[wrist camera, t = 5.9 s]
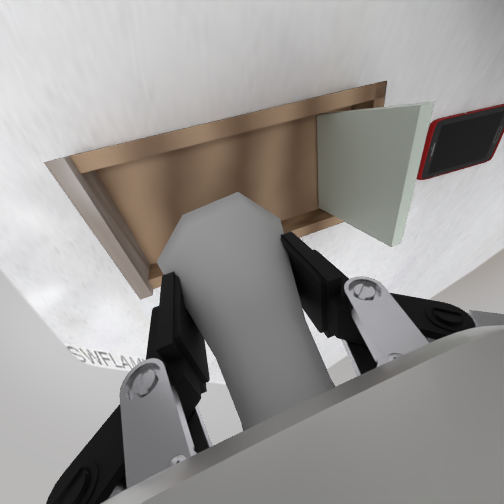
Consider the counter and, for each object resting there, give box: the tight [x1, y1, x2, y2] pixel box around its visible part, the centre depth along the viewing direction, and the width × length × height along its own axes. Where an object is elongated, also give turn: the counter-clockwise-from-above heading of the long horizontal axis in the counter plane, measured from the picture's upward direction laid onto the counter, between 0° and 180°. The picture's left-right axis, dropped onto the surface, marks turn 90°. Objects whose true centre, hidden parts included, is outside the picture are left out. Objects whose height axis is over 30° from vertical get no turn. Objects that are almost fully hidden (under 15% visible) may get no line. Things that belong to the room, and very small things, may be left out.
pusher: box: [317, 101, 435, 247], centre depth 19 cm, size 1×10×11 cm, turn 11°
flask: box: [157, 192, 335, 431], centre depth 8 cm, size 7×7×10 cm
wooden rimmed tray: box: [44, 81, 387, 300], centre depth 21 cm, size 28×13×5 cm, turn 102°
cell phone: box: [416, 104, 504, 180], centre depth 30 cm, size 8×15×1 cm, turn 99°
